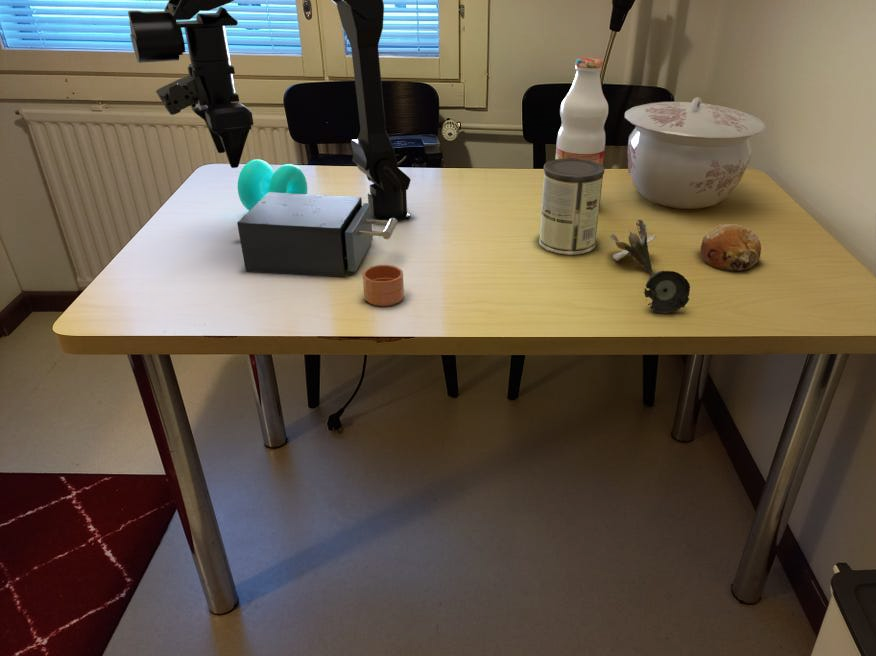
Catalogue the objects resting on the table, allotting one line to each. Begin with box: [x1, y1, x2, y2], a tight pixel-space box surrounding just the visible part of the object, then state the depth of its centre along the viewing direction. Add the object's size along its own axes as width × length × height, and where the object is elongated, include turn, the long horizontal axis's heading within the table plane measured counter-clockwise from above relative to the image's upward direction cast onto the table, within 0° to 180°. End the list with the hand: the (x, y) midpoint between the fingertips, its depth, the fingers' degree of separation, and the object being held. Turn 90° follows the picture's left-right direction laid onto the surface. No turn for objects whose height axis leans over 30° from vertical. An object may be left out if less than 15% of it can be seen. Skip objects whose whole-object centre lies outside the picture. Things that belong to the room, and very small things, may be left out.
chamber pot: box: [624, 96, 766, 210], centre depth 141 cm, size 28×28×21 cm
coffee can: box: [538, 158, 606, 256], centre depth 120 cm, size 10×10×14 cm
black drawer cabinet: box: [236, 192, 363, 278], centre depth 115 cm, size 16×14×8 cm
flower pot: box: [362, 264, 405, 307], centre depth 104 cm, size 6×6×4 cm
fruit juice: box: [554, 57, 609, 167], centre depth 133 cm, size 9×9×28 cm
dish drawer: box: [342, 202, 399, 272], centre depth 115 cm, size 21×13×7 cm, turn 85°
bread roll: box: [700, 223, 762, 272], centre depth 119 cm, size 10×10×8 cm
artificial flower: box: [609, 219, 691, 315], centre depth 110 cm, size 9×22×10 cm, turn 179°
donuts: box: [237, 158, 308, 212], centre depth 131 cm, size 10×10×10 cm
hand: (227, 159), depth 114 cm, fingers open, 9 cm apart
